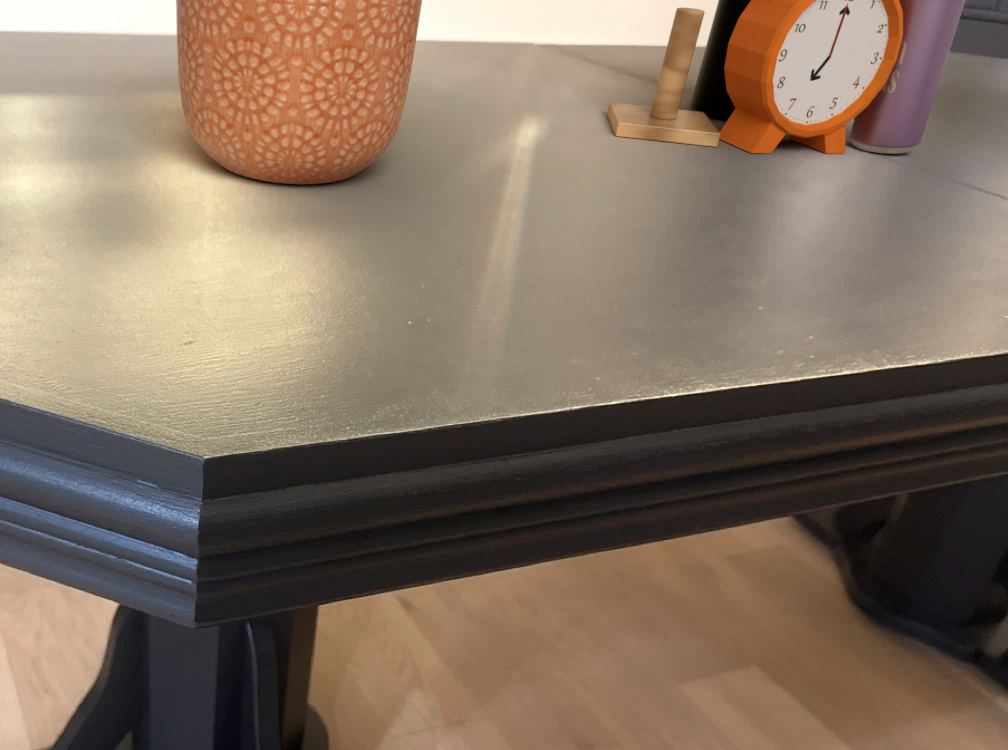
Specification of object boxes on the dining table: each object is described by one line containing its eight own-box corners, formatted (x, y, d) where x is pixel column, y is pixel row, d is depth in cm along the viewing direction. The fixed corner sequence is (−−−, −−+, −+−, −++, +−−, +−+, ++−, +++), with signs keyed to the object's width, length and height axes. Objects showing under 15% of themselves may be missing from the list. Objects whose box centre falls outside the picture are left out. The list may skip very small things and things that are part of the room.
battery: (683, 114, 103) (747, -122, 92) (694, 102, 108) (756, -122, 97) (757, 126, 101) (832, -115, 89) (765, 114, 106) (837, -115, 95)
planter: (226, 209, 68) (235, -55, 59) (143, 142, 80) (140, -84, 71) (443, 193, 74) (479, -47, 66) (335, 133, 87) (354, -75, 78)
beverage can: (932, 148, 95) (992, -37, 86) (889, 158, 93) (946, -31, 84) (876, 134, 99) (927, -43, 90) (833, 143, 97) (881, -37, 88)
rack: (700, 124, 100) (733, 7, 94) (716, 147, 92) (753, 21, 86) (606, 115, 100) (633, -2, 95) (615, 136, 93) (645, 11, 87)
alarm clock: (739, 155, 90) (822, -114, 79) (699, 137, 95) (773, -119, 84) (864, 155, 93) (961, -103, 82) (819, 138, 98) (905, -108, 87)
